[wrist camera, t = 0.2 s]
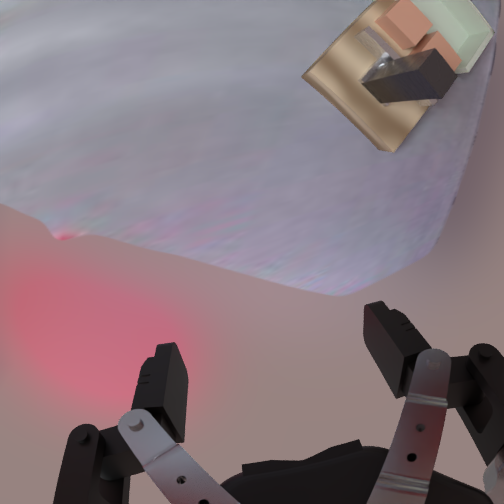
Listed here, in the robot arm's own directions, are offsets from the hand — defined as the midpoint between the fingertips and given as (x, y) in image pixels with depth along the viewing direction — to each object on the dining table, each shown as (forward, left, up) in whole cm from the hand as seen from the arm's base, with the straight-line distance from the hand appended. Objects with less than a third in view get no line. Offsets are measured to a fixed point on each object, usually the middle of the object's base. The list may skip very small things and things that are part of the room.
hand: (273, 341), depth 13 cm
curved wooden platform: (-14, +22, -29) cm, 39 cm away
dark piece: (-11, +19, -25) cm, 33 cm away
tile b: (-15, +28, -25) cm, 40 cm away
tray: (-23, +33, -29) cm, 49 cm away
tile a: (-20, +24, -25) cm, 40 cm away
